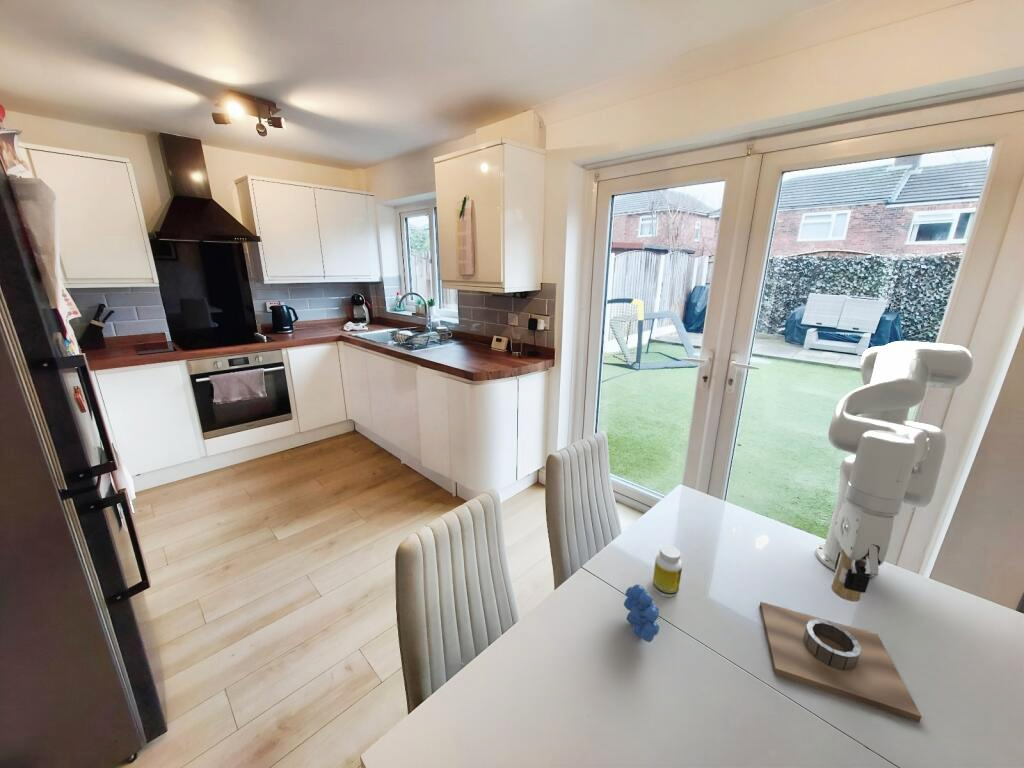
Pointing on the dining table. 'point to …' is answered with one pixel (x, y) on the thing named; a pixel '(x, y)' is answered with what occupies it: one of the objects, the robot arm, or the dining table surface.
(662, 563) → the pill bottle
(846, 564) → the sprinkles bottle
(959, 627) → the dining table surface
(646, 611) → the grapes
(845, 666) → the collar
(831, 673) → the socket board
